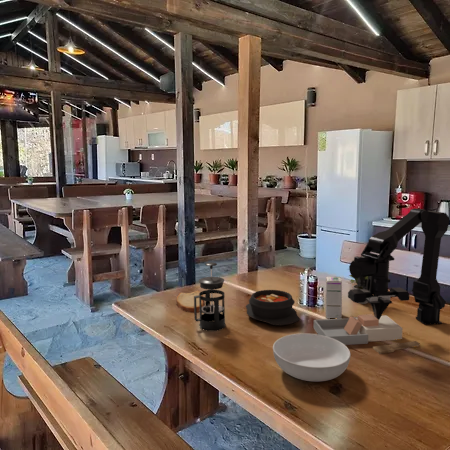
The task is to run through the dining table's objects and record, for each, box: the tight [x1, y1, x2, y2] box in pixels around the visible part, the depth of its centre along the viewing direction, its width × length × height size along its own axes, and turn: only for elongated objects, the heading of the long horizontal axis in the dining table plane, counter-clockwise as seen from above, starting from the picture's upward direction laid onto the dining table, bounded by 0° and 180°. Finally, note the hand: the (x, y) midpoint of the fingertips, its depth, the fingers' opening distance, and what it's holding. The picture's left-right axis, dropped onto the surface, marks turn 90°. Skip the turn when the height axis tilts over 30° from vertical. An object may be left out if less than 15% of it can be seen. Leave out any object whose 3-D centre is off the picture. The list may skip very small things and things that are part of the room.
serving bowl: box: [272, 333, 352, 382], centre depth 115 cm, size 21×21×7 cm
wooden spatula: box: [372, 340, 420, 355], centre depth 128 cm, size 15×4×1 cm, turn 105°
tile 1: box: [344, 316, 362, 335], centre depth 138 cm, size 5×5×2 cm
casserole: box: [245, 289, 301, 326], centre depth 155 cm, size 25×19×8 cm
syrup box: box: [325, 276, 343, 319], centre depth 154 cm, size 6×6×14 cm
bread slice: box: [175, 290, 205, 313], centre depth 172 cm, size 18×18×4 cm
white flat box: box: [353, 314, 403, 342], centre depth 139 cm, size 12×11×4 cm
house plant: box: [346, 268, 369, 305], centre depth 168 cm, size 14×14×16 cm
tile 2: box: [356, 313, 379, 326], centre depth 138 cm, size 5×5×2 cm
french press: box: [193, 262, 227, 332], centre depth 146 cm, size 12×9×23 cm
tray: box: [313, 317, 369, 346], centre depth 138 cm, size 14×14×3 cm
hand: (377, 319), depth 138 cm, fingers closed
